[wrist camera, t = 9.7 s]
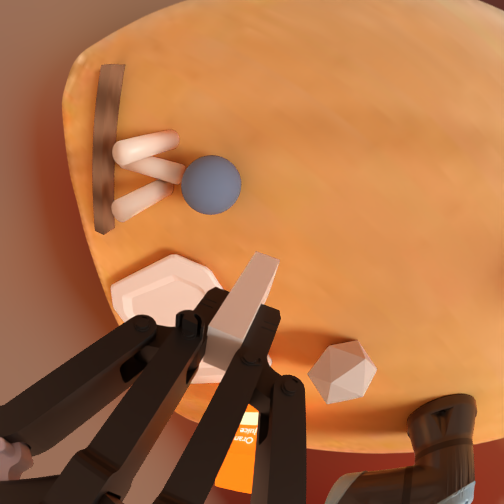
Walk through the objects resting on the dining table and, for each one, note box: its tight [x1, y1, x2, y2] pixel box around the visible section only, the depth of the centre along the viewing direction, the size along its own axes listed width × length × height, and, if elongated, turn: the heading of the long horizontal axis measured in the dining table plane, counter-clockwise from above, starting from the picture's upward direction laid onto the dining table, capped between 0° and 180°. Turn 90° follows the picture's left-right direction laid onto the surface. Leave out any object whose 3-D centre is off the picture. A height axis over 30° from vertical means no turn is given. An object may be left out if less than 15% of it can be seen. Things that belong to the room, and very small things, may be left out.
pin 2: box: [111, 179, 173, 222], centre depth 29 cm, size 2×2×8 cm
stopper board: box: [92, 64, 125, 235], centre depth 31 cm, size 24×2×2 cm, turn 167°
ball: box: [181, 155, 241, 215], centre depth 27 cm, size 6×6×6 cm
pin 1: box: [112, 130, 179, 166], centre depth 26 cm, size 2×2×8 cm
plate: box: [111, 254, 272, 384], centre depth 43 cm, size 25×25×2 cm
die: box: [308, 340, 377, 404], centre depth 33 cm, size 8×9×10 cm
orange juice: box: [215, 404, 259, 494], centre depth 38 cm, size 8×9×20 cm
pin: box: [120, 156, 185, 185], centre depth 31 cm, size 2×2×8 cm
